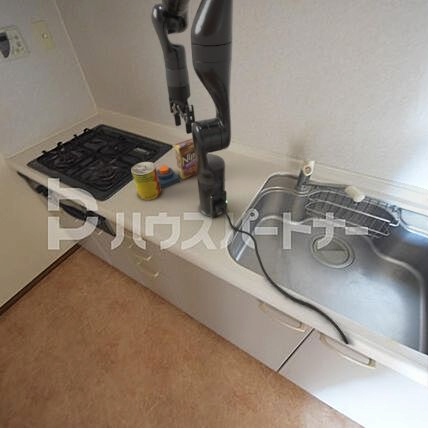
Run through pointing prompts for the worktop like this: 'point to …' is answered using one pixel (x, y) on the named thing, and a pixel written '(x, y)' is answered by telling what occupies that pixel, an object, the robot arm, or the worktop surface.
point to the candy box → (185, 158)
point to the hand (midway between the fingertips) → (183, 129)
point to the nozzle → (164, 170)
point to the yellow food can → (146, 180)
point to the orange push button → (167, 178)
